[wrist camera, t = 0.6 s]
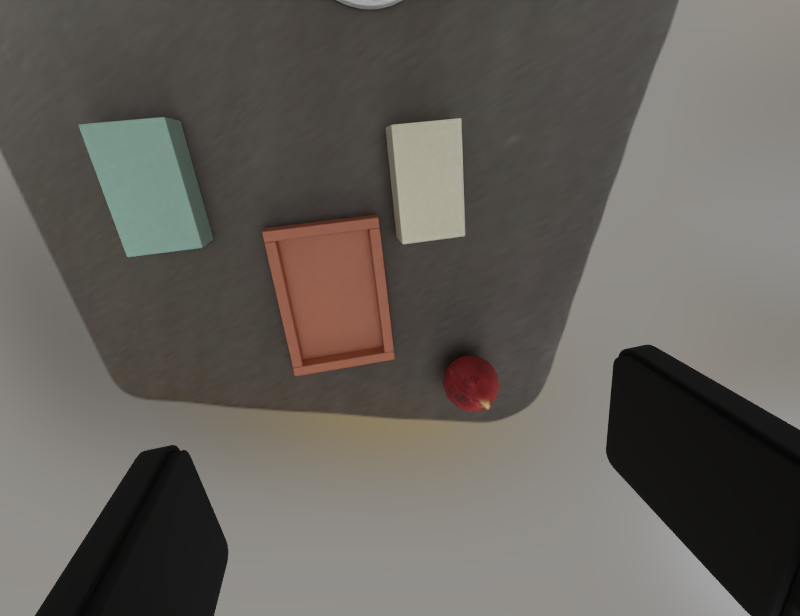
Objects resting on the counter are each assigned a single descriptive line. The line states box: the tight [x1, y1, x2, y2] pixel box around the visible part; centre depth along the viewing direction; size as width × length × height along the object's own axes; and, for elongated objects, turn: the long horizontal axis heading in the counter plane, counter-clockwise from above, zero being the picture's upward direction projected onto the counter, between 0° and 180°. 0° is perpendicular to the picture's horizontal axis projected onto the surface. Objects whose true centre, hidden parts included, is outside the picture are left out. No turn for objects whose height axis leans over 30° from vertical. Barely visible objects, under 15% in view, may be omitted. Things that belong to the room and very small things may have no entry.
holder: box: [262, 214, 395, 376], centre depth 39 cm, size 15×10×2 cm
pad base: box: [79, 117, 213, 257], centre depth 32 cm, size 10×6×4 cm, turn 6°
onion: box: [443, 356, 499, 412], centre depth 42 cm, size 6×6×8 cm
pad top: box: [386, 118, 465, 244], centre depth 36 cm, size 10×6×4 cm, turn 6°
